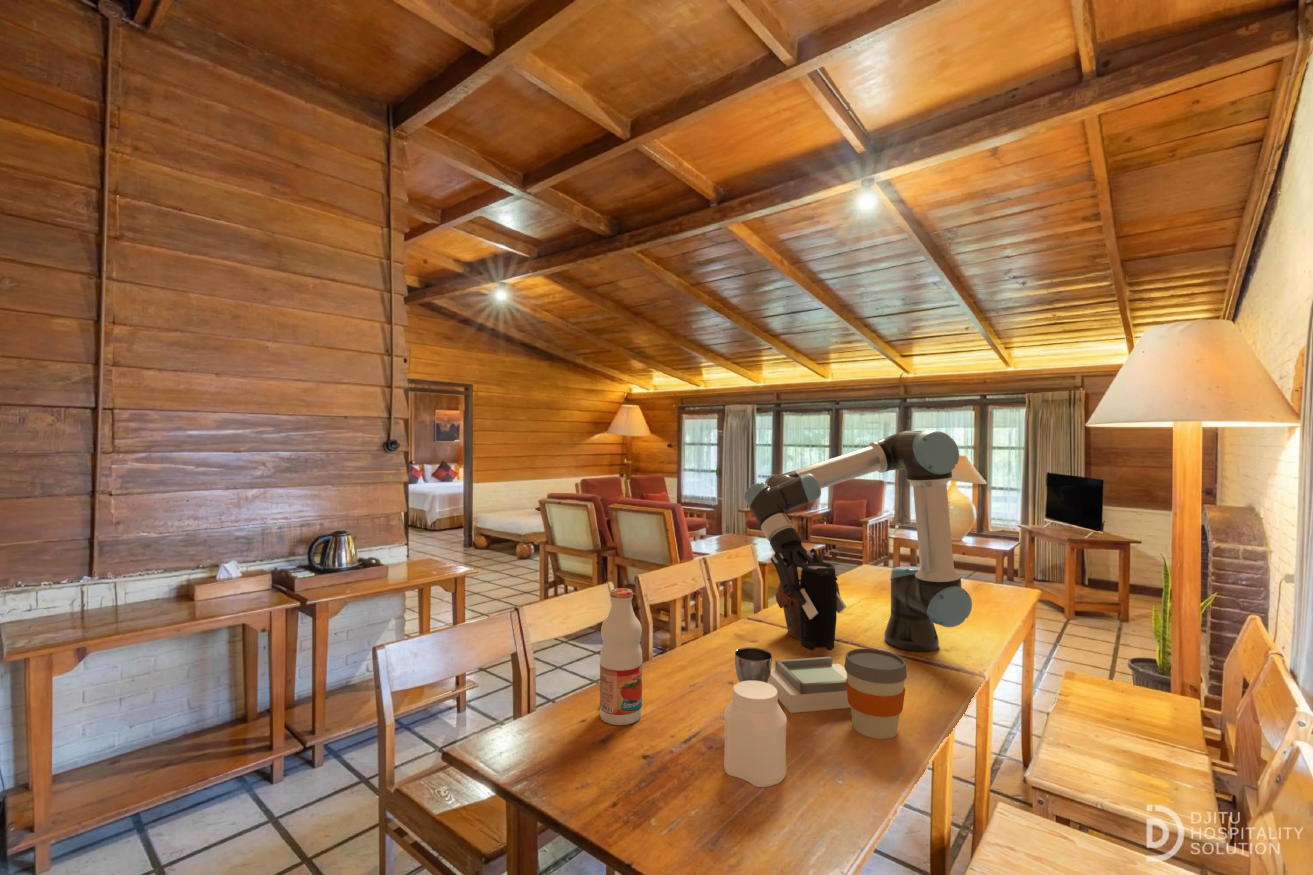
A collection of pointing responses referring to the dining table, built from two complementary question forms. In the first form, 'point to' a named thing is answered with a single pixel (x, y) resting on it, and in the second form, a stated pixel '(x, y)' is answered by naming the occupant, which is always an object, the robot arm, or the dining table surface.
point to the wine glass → (753, 664)
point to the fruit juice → (621, 662)
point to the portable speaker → (819, 605)
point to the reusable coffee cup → (875, 691)
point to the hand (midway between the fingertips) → (828, 613)
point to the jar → (755, 734)
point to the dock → (810, 684)
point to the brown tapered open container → (790, 610)
